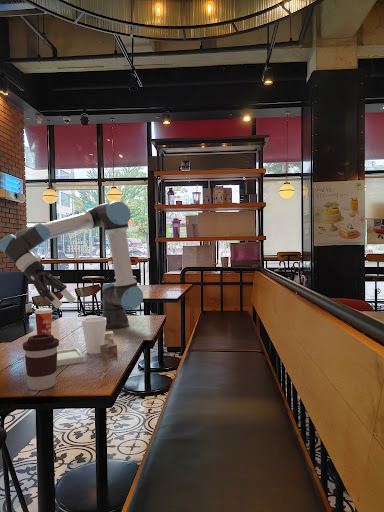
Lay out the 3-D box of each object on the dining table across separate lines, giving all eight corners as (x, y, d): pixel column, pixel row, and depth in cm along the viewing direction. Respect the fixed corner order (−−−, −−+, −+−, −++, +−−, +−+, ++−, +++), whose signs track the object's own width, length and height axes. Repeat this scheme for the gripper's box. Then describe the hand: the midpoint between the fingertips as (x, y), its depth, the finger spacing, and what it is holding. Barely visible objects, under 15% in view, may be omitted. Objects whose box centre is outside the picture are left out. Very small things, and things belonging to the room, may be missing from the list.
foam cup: (85, 356, 136) (84, 322, 135) (80, 350, 144) (79, 318, 144) (109, 352, 140) (109, 319, 140) (104, 347, 148) (103, 316, 148)
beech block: (112, 341, 158) (112, 331, 158) (113, 343, 154) (113, 333, 154) (102, 342, 157) (102, 331, 157) (102, 344, 152) (102, 334, 152)
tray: (77, 352, 140) (77, 347, 140) (83, 361, 129) (83, 356, 129) (41, 358, 134) (41, 352, 134) (45, 367, 123) (45, 362, 123)
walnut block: (110, 354, 138) (110, 343, 137) (117, 356, 135) (117, 345, 134) (100, 357, 134) (100, 345, 134) (107, 359, 131) (107, 347, 131)
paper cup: (46, 342, 157) (46, 310, 157) (31, 341, 159) (30, 310, 159) (56, 338, 165) (56, 308, 165) (42, 337, 166) (41, 307, 166)
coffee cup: (54, 392, 101) (52, 339, 101) (18, 393, 101) (16, 341, 100) (63, 379, 111) (62, 331, 111) (31, 380, 110) (30, 333, 110)
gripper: (39, 271, 157) (72, 305, 156) (7, 274, 132) (46, 315, 131) (51, 259, 156) (84, 293, 156) (20, 260, 132) (60, 301, 131)
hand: (67, 303), depth 143 cm, fingers open, 13 cm apart
